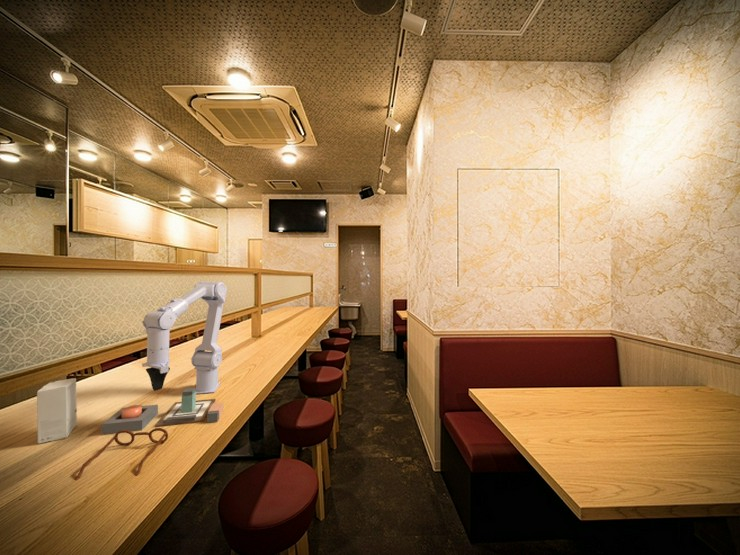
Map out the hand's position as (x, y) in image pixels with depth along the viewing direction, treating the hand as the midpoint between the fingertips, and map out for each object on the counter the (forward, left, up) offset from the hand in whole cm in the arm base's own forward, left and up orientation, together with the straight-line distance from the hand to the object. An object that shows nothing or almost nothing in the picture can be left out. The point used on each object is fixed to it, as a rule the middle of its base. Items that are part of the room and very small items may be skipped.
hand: (157, 389), depth 89 cm
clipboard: (-2, +8, -10) cm, 13 cm away
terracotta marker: (+3, +18, -10) cm, 21 cm away
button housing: (+2, -6, -10) cm, 12 cm away
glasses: (+20, +2, -10) cm, 23 cm away
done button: (+2, -6, -8) cm, 10 cm away
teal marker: (-2, +8, -9) cm, 12 cm away
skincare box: (+4, -23, -10) cm, 25 cm away
